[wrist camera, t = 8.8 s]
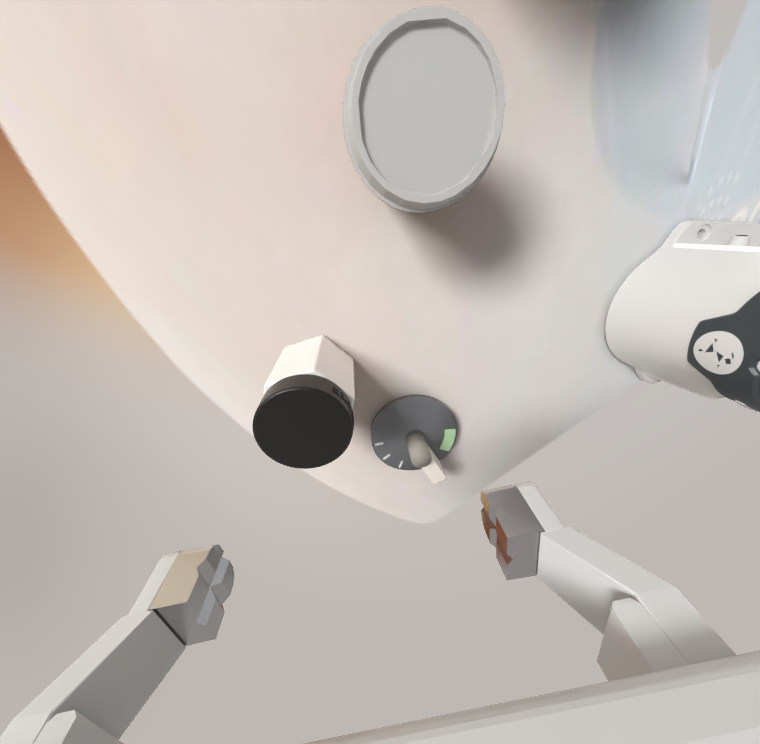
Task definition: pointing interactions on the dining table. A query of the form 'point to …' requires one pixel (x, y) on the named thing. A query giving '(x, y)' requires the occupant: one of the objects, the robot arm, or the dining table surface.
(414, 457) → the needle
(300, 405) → the jar
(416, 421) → the dial
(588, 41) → the dining table surface
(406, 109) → the disposable coffee cup
